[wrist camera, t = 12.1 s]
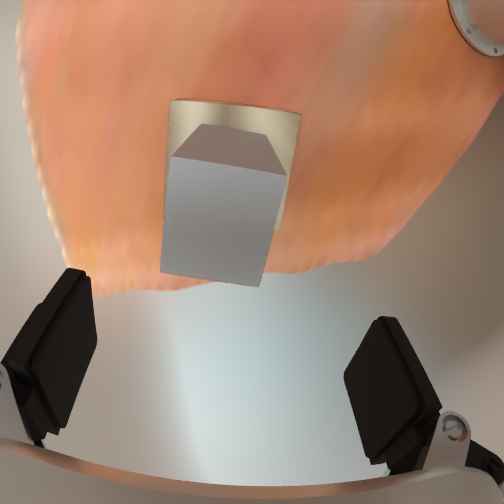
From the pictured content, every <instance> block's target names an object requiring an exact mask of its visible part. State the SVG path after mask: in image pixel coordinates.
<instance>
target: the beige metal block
mask: <svg viewBox="0 0 504 504" xmlns="http://www.w3.org/2000/svg"><path fill="white" fill-rule="evenodd" d="M300 117H301V114H298V113H295V112H293V111H290V110H284V109H277V108H271V107H264V106H256V105H248V104H240V103H231V102H221V101H210V100H197V99H181V98H180V99H175V100H171V104H170V115H169V126H168V138H167V152H166V169H165V189H164V214H165V204H166V194H167V185H168V176H169V168H170V160H171V156H172V155H173V154H174V152H175V151H176V150H177V149H178V148H179V147H180V146H181V145H182V144H183V142H184V141H185V140H186V139H187V138H188V137H189V136H190V135H191V134H192V133H193V132H194V131H195V130H196V129H197V127H198V126H199V125H200V124H208V125H214V126H221V127H227V128H233V129H238V130H244V131H249V132H255V133H260V134H265V135H266V136H267V138H268V140H269V142H270V144H271V145H272V147H273V149H274V151H275V153H276V155H277V157H278V159H279V161H280V163H281V165H282V166H283V168H284V170H285V172H286V174H287V180H286V184H285V188H284V192H283V196H282V200H281V204H280V208H279V212H278V216H277V220H276V224H275V227H274V230H279V231H280V228H281V223H282V218H283V212H284V207H285V202H286V196H287V191H288V185H289V180H290V174H291V169H292V163H293V157H294V152H295V146H296V140H297V134H298V129H299V123H300ZM163 219H164V218H163Z"/></svg>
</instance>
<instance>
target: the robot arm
mask: <svg viewBox="0 0 504 504" xmlns="http://www.w3.org/2000/svg"><path fill="white" fill-rule="evenodd" d="M448 2H449V7H450V11H451V14H452V17H453V19H454V22H455V24H456V26H457V28H458V29H459V31H460V33H461V34H462V35H463V37H464V38H465V39H466V41H467V42H468V43H469V44H470V45H471V46H472V47H474V48H475V49H476V50H477V51H479V52H481V53H482V54H485V55H488V56H501V55H503V54H504V0H448ZM96 345H97V333H96V326H95V318H94V309H93V300H92V289H91V279H90V277H89V276H86V273H85V271H83V270H78V269H73V268H67V269H66V270H65V272H64V273H63V274H62V276H61V277H60V278H59V280H58V281H57V282H56V284H55V285H54V287H53V288H52V289H51V291H50V292H49V294H48V295H47V296H46V298H45V299H44V301H43V302H42V303H40V304H38V305H37V306H36V307H35V309H34V310H33V312H32V313H31V315H30V317H29V318H28V320H27V321H26V322H25V324H24V325H23V327H22V329H21V330H20V332H19V333H18V335H17V336H16V338H15V340H14V341H13V343H12V345H11V346H10V348H9V350H8V351H7V353H6V354H5V356H4V358H3V360H2V361H1V363H0V504H504V463H503V462H502V460H501V459H500V458H499V457H498V456H497V455H496V454H494V453H492V452H491V451H489V450H487V449H486V448H484V447H482V446H481V445H479V444H477V443H476V442H474V441H473V440H471V439H470V438H471V430H470V426H469V424H468V423H467V421H466V420H465V419H464V417H462V416H461V415H460V414H458V413H456V412H453V411H447V412H444V413H443V414H442V415H440V413H439V410H440V409H441V408H442V405H441V403H440V401H439V399H438V397H437V395H436V392H435V390H434V388H433V386H432V384H431V382H430V380H429V378H428V376H427V374H426V372H425V370H424V368H423V366H422V364H421V363H420V361H419V359H418V357H417V355H416V353H415V351H414V349H413V347H412V345H411V344H410V342H409V340H408V338H407V336H406V334H405V332H404V331H403V329H402V327H401V325H400V323H399V322H398V320H397V319H396V318H395V317H386V316H380V317H378V319H377V320H374V321H373V322H372V324H371V326H370V328H369V330H368V332H367V334H366V335H365V337H364V339H363V341H362V342H361V344H360V346H359V348H358V349H357V351H356V353H355V355H354V356H353V358H352V360H351V361H350V363H349V365H348V367H347V368H346V370H345V372H344V382H345V385H346V389H347V392H348V396H349V399H350V402H351V406H352V409H353V413H354V416H355V420H356V423H357V427H358V431H359V434H360V438H361V441H362V445H363V449H364V452H365V455H366V457H368V458H369V459H370V463H371V465H375V464H382V463H385V462H386V464H387V469H386V471H385V473H384V475H383V477H379V478H373V479H367V480H359V481H352V482H343V483H333V484H321V485H305V486H270V487H269V486H265V487H264V486H233V485H219V484H207V483H198V482H189V481H181V480H174V479H167V478H161V477H155V476H149V475H144V474H139V473H134V472H129V471H124V470H120V469H116V468H112V467H107V466H103V465H99V464H95V463H91V462H87V461H84V460H81V459H77V458H74V457H71V456H67V455H64V454H61V453H58V452H55V451H51V450H48V449H47V448H46V445H45V443H44V441H43V439H44V438H45V436H46V434H47V432H49V433H52V434H55V435H58V434H59V431H60V428H65V427H66V425H67V422H68V419H69V416H70V413H71V411H72V408H73V405H74V402H75V399H76V397H77V394H78V391H79V388H80V386H81V383H82V381H83V378H84V375H85V373H86V371H87V368H88V365H89V363H90V360H91V358H92V355H93V353H94V351H95V348H96Z"/></svg>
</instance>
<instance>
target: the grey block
mask: <svg viewBox="0 0 504 504" xmlns="http://www.w3.org/2000/svg"><path fill="white" fill-rule="evenodd" d="M286 180H287V174H286V172H285V170H284V168H283V166H282V165H281V163H280V161H279V159H278V157H277V155H276V153H275V151H274V149H273V147H272V145H271V144H270V142H269V140H268V138H267V136H266V135H265V134H260V133H255V132H249V131H244V130H238V129H233V128H227V127H221V126H214V125H208V124H200V125H199V126H198V127H197V129H196V130H195V131H194V132H193V133H192V134H191V135H190V136H189V137H188V138H187V139H186V140H185V141H184V142H183V144H182V145H181V146H180V147H179V148H178V149H177V150H176V151H175V152H174V154H173V155H172V156H171V160H170V168H169V176H168V185H167V194H166V204H165V214H164V225H163V237H162V251H161V266H160V272H162V273H168V274H174V275H180V276H186V277H193V278H199V279H206V280H212V281H219V282H225V283H233V284H239V285H246V286H253V287H259V285H260V281H261V278H262V274H263V270H264V266H265V262H266V258H267V255H268V251H269V247H270V243H271V239H272V235H273V231H274V227H275V224H276V220H277V216H278V212H279V208H280V204H281V200H282V196H283V192H284V188H285V184H286Z"/></svg>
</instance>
